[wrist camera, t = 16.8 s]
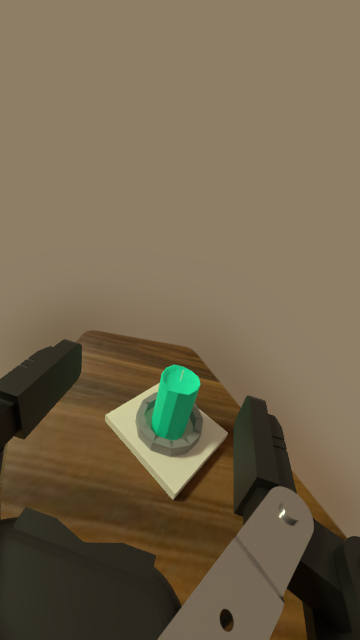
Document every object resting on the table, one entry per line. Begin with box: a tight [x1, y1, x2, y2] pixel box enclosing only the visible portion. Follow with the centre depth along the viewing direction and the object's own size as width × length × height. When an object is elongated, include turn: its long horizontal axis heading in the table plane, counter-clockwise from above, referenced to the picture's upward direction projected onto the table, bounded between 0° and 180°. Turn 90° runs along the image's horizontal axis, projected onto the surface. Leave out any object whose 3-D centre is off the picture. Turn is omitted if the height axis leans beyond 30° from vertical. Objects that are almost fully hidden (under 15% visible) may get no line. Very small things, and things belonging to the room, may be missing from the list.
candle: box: [151, 365, 200, 441], centre depth 37 cm, size 6×6×12 cm
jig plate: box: [105, 383, 228, 500], centre depth 40 cm, size 16×14×4 cm
